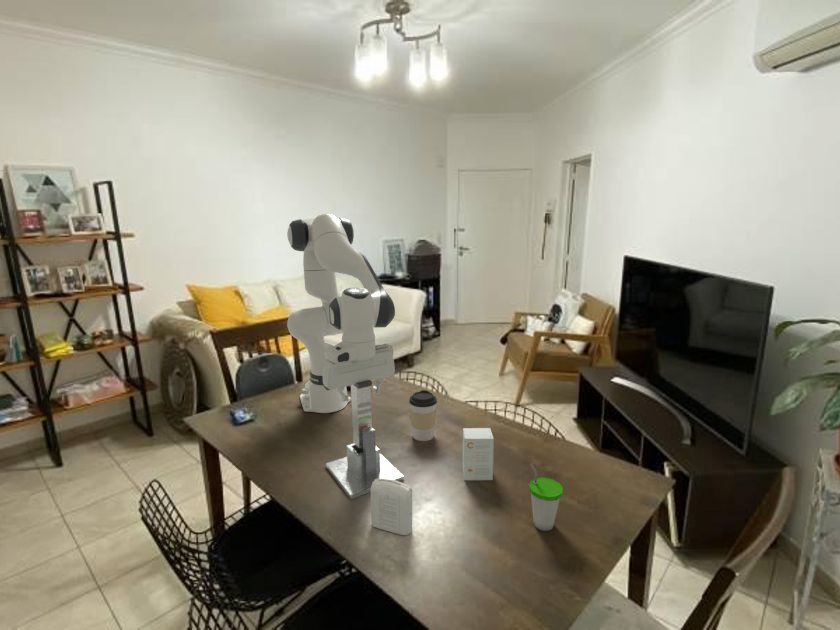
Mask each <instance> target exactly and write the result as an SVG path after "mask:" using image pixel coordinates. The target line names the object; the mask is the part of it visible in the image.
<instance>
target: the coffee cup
mask: <svg viewBox="0 0 840 630" xmlns="http://www.w3.org/2000/svg"><path fill="white" fill-rule="evenodd" d="M408 400H409V406H410V408H409V411H410V413H409V414H410V424H411V425H410V426H411V431H412V437H413V439H414V440H416V441H420V442H428V441H430V440H431V441H432V439H433V438H434V435H435V425H436V416H437V415H436V414H437V403H438V402H437V396H435V395H434V394H433V393H432V392H430V391H429V390H427V389H426V390H425V389H423V390H420V391H416V392H414V393H413V394H412V395H411V396H410V397H409V399H408Z"/></svg>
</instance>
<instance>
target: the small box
mask: <svg viewBox="0 0 840 630" xmlns="http://www.w3.org/2000/svg"><path fill="white" fill-rule="evenodd" d="M494 440H495V438H494V435H493V433H492V430H491V427H470V428H469V427H467V428H466V427H465V428H464V427H463V428H462V473H463V480H464V481H493V479H494V477H493V474H494V444H495V442H494Z"/></svg>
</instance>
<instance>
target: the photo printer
mask: <svg viewBox="0 0 840 630" xmlns="http://www.w3.org/2000/svg"><path fill="white" fill-rule="evenodd" d="M370 521H371V522H370V523H371V526H372V527H374V528H377V529H379V530H383V531H386V532H390V533H393V534H395V535H396V534H397V535H401V536H408V535H410V534H411V533H412V531H413V489H412V487H411V486H409V485H408V484H405V483H404V482H402V481H395V480H391V479H375V480H374V481H373V482H372V485H371V492H370Z"/></svg>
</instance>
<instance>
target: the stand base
mask: <svg viewBox="0 0 840 630" xmlns="http://www.w3.org/2000/svg"><path fill="white" fill-rule="evenodd" d="M362 432H363V447H362V448H358V446H357V445H356V444H355V443H354V442H353V443H351V444H348V445H346V456H345V457H342V458H339V459H335V460H332V461H329V462H326V463H325V468H326V469H327V470H328V471H329V472H330V475H332V477H333V478H334V479H335V481H336V482H337V483H338V484H339V486H340V487H341V489H342V490H343V491H344V492H345V493H346V495H347V496H348V497H349V499H350V500H354V499H355V498H359V497H361V496H363V495H367V494H369V493H370V494H371V485H372V482H373V481H374V480H375V479H391V480H395V481H399V482H402V481H404V480H405V479H404V478H405V476H404V475H403V474H402V472H400V471H399V470H398V469H397V467H395V466H394V465H393V464H392V463H391V462H390V461H389V460H388V459H387V458H385V456H384V455H383V454H382V453H380V448H379V447H378V446H377V445H376V444H377V443H376V429H374V428H373V427H372V428H371V427H367V428H364V429H362Z"/></svg>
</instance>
